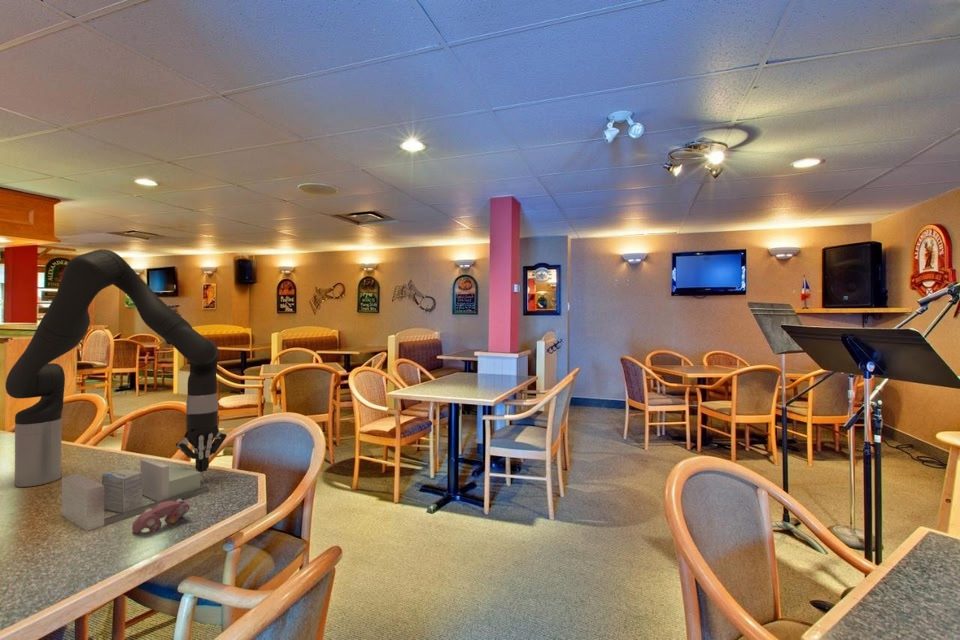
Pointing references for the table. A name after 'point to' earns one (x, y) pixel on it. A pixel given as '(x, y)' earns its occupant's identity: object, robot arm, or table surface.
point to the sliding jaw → (167, 480)
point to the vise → (98, 502)
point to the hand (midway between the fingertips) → (201, 471)
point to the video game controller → (160, 515)
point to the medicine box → (122, 490)
